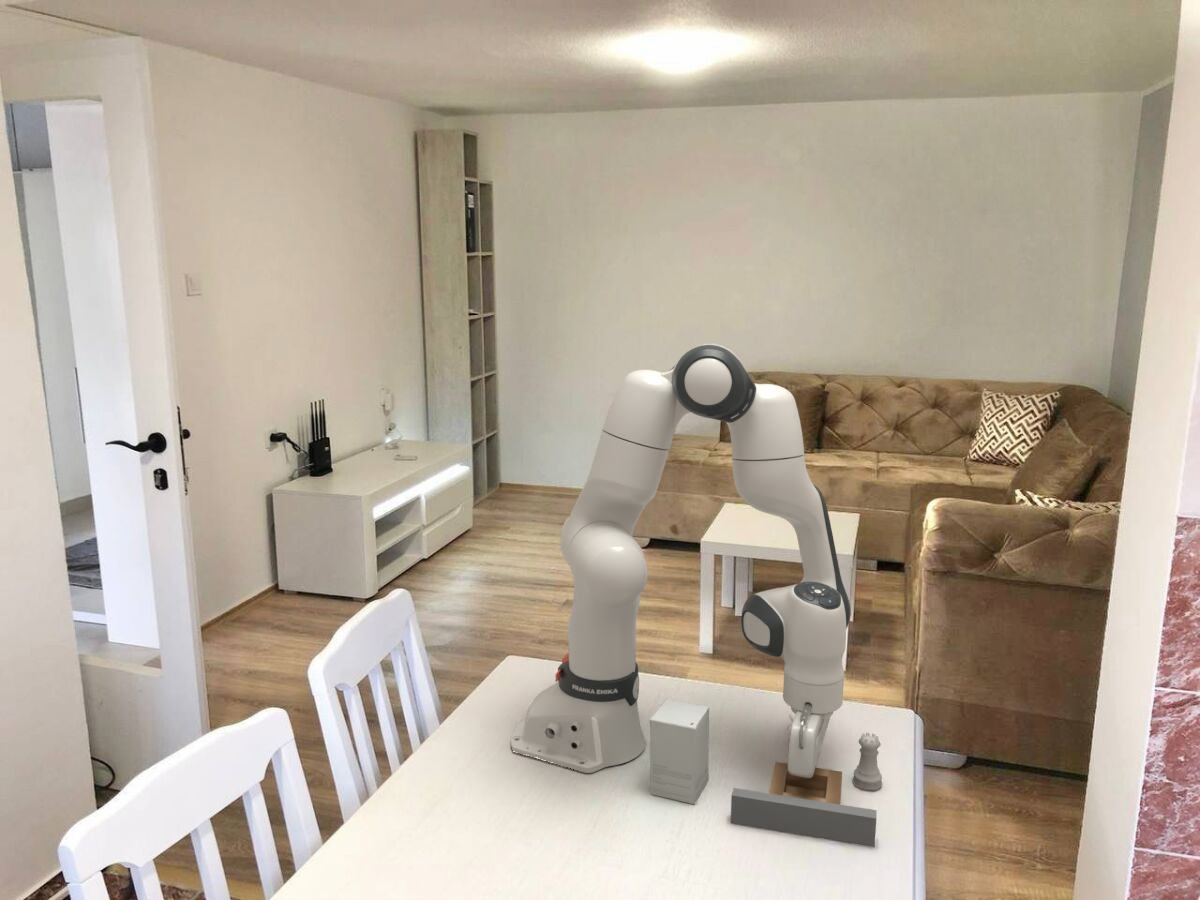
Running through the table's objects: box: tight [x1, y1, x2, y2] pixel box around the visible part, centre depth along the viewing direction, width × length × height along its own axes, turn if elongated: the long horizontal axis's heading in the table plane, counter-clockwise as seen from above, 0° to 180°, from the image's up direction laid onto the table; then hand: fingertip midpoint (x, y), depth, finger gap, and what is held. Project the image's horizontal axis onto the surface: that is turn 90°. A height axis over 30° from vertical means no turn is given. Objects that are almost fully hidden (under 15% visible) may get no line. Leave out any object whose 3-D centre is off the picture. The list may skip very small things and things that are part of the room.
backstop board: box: [730, 787, 878, 848], centre depth 132 cm, size 20×2×4 cm, turn 73°
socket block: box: [768, 761, 843, 805], centre depth 138 cm, size 10×10×4 cm
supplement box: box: [649, 698, 710, 805], centre depth 142 cm, size 7×7×13 cm
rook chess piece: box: [852, 732, 883, 792], centre depth 143 cm, size 4×4×8 cm
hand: (809, 772), depth 144 cm, fingers closed
